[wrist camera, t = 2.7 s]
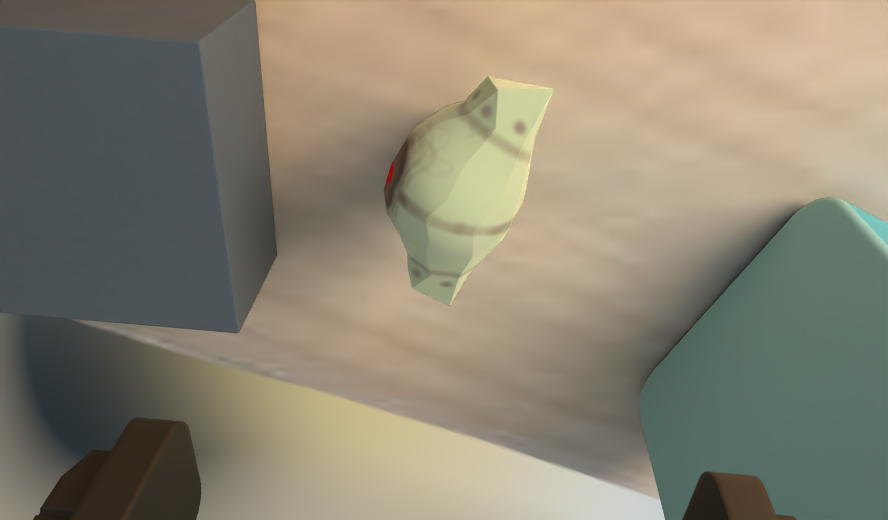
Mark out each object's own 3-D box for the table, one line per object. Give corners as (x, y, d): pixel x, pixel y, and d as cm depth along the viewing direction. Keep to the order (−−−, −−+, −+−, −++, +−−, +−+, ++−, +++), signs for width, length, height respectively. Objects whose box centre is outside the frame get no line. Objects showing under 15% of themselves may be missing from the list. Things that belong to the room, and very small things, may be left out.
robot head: (471, 239, 26) (466, 353, 21) (372, 204, 26) (340, 312, 20) (561, 48, 22) (586, 127, 16) (445, 1, 21) (430, 66, 16)
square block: (35, 234, 27) (-47, 308, 23) (-48, -26, 22) (-175, 10, 18) (277, 255, 27) (239, 334, 23) (255, -1, 22) (200, 41, 18)
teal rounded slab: (712, 425, 31) (818, 712, 21) (630, 391, 30) (699, 673, 20) (917, 228, 25) (1203, 501, 15) (821, 178, 24) (1057, 433, 14)
